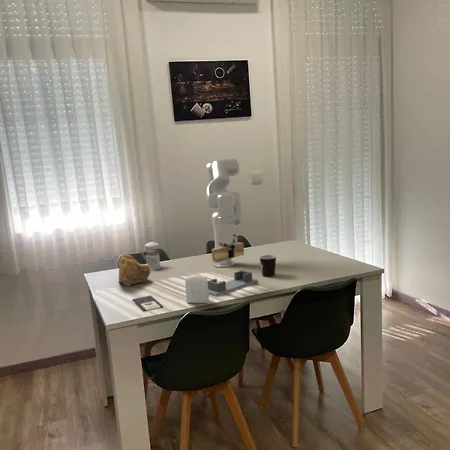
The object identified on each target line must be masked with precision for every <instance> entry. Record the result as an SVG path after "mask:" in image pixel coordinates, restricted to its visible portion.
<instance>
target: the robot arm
mask: <svg viewBox="0 0 450 450" xmlns="http://www.w3.org/2000/svg"><path fill="white" fill-rule="evenodd" d="M205 167H206V168H205V170H206V175H207V177H208V179H209V181H210V182H209V184H208V185H207V187H206V191H205V195H206V196H205V197H206V205H207V207H208V208H210V209H217V211H215V212H214V213H212V215H211V223H212V227H213V234H214V248H218V247H222V246H226V245H228V246H229V250H228V255H229V258H231V259H227V260H224V261H220V262H213V266H214V267H215V268H228V267H232V266H235V265H236V261H235V260H233V259H234V258H235V257H234V249H235V247H236V246H237V245H238V242H239V241H238V233H237V232H238V230H237V227H240V226H241V225H242V224H243V212H242V211H243V210H242V199H241V195H240V192H238V191H236V190H234V191H232V190H231V191H228V186H229V185H230V181H231V178H230V177H236V176H237V175H238V174H239V172H240V164H239V162H238V160H237V159H236V158H226V159H225V158H224V159H223V158H221V159H216V160H214V161H213V162H209V163H207V164H206V166H205ZM231 245H232V246H231ZM233 257H234V258H233Z"/></svg>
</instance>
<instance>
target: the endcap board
mask: <svg viewBox="0 0 450 450" xmlns="http://www.w3.org/2000/svg"><path fill="white" fill-rule="evenodd" d="M233 274H234V275H233V276H234V279H231V280H228V281H225V280H223V281H218V279H217V278H213V279H209V280H207V281H208V295H210V296H213V297H218V296H222V295H223V294H227V293H230V292H233V291H235V290H238V289H241V288H244V287H247V286H249V285H253V284H256V283H258V282H259V281H258V279H256V278H253V273H252V272H250V271H247V270H246V271H245V270H242V269H241V270H238V271H234V273H233Z"/></svg>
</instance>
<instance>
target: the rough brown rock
mask: <svg viewBox="0 0 450 450" xmlns="http://www.w3.org/2000/svg"><path fill="white" fill-rule="evenodd" d="M150 275H151V270H150V268H149V267H148V266H147V264H143V263H139V261H137V259H136V258H135V257H133V256H132V255H131V254H127V253H126V254H123V253H122V254H121V256H120V258H119V262H118V281H119V282H121V283H123V284H124V285H125V286H126V287H130V286H131V285H135V284H138V283H142V284H144V283H147V282H148V280H149V279H148V278H149V276H150Z"/></svg>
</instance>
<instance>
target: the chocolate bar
mask: <svg viewBox="0 0 450 450" xmlns="http://www.w3.org/2000/svg"><path fill="white" fill-rule="evenodd" d="M132 302H133V303H135V305H136V306H137V307H138V308H140V310H141V311H142V312H149V311H152V310H157V309H163V308H164V305H163V304H161V303H160V302H159V301H158V299H156V298H154V297H153V295H147V296H141V297H137V298H133V299H132Z"/></svg>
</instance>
